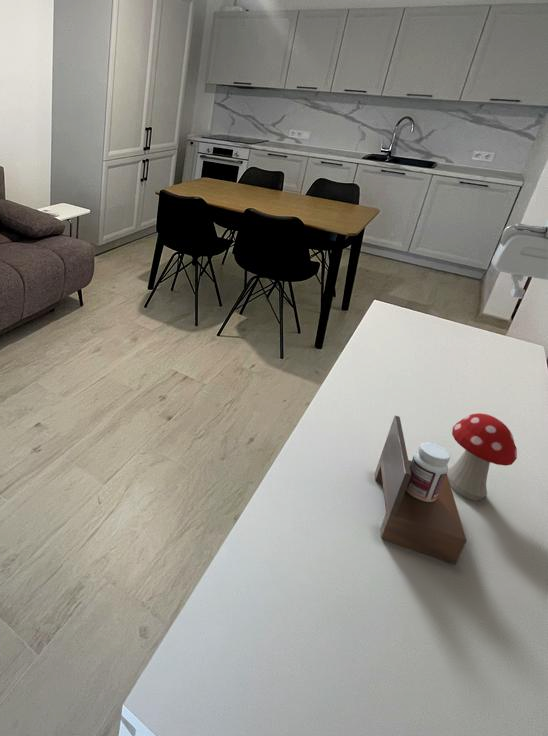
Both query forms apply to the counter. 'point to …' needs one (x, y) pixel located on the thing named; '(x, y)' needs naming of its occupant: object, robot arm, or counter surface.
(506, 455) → the decorative mushroom
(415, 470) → the pill bottle
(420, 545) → the wooden display stand
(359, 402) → the counter surface
